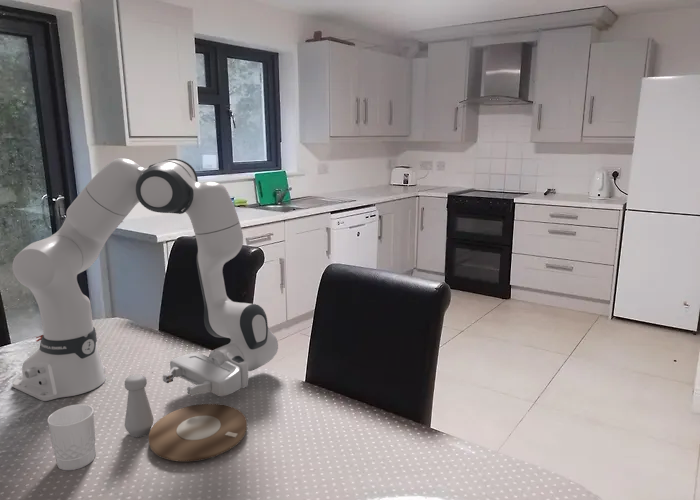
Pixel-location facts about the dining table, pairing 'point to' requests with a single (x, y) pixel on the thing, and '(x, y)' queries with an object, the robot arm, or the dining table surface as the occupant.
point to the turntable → (197, 432)
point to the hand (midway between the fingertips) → (176, 385)
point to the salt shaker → (137, 407)
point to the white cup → (73, 436)
